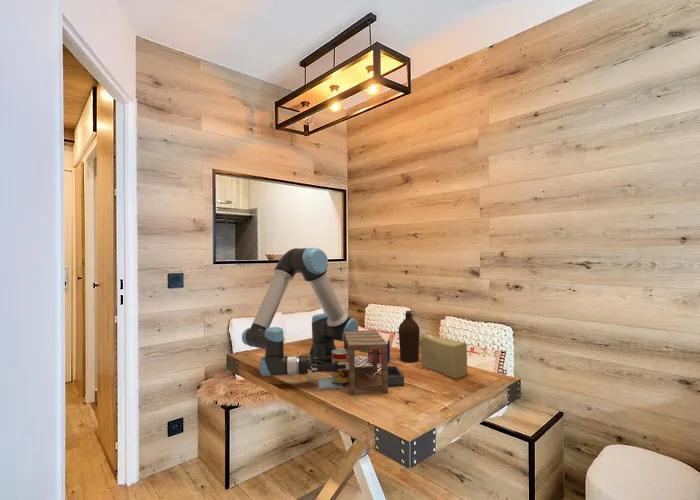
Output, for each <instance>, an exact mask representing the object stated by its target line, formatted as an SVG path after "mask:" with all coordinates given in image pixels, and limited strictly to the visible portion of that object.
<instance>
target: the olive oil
mask: <svg viewBox="0 0 700 500" xmlns="http://www.w3.org/2000/svg"><path fill="white" fill-rule="evenodd" d="M404 316H405V317H404V320H402V322H401V323H400V324H399V326H398V340H399V341H398V342H399V345H398V346H399V359H400V361H401V362H403V363H417V362H419V360H420V356H419V355H420V327H419V324H418V323H417V322H416V321H415V320H414V318H413V311H412V310H405V315H404Z"/></svg>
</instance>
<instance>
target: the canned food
mask: <svg viewBox="0 0 700 500" xmlns="http://www.w3.org/2000/svg"><path fill="white" fill-rule="evenodd" d="M344 362H349V350H347V349H344V348H336V350H333V351H332V363H334V364H338V363H344ZM331 378H332V381H333V382H336V383H343V384H345V383H348V382H349V369H347V370H338V372H331Z"/></svg>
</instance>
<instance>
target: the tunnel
mask: <svg viewBox="0 0 700 500" xmlns="http://www.w3.org/2000/svg"><path fill="white" fill-rule="evenodd" d="M384 339H385V338H383V337H382V335H381V334H380V333H379V332H378V331H377V330H376V329H372V330H358V331H344V342H343V349H347V350H349V385H348V386H349V389H348V390H349V395H351V396H352V395H371V394H386V393H387V394H388V393H389V387H388V364H389V362H388V357H387V343H386V342H385V341H384ZM362 350H372V363H371V365H363V366H355V364H356V362H355V359H356V358H355V351H362ZM377 350H381V352H382V363H381V367H382V376H381V384H372V385H371V384H370V385H356V374H366V373H365V372H377V373H378V363H377Z"/></svg>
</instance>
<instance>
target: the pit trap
mask: <svg viewBox="0 0 700 500" xmlns="http://www.w3.org/2000/svg"><path fill="white" fill-rule="evenodd" d="M380 368H381V369H380V373H381V374H380V376H381V377H382V366H381V367H380ZM390 387H405V376H404V374H403V373H402V372H401V370H400V368H399V367H398V366H397V365H389V366H388V388H390Z"/></svg>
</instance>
